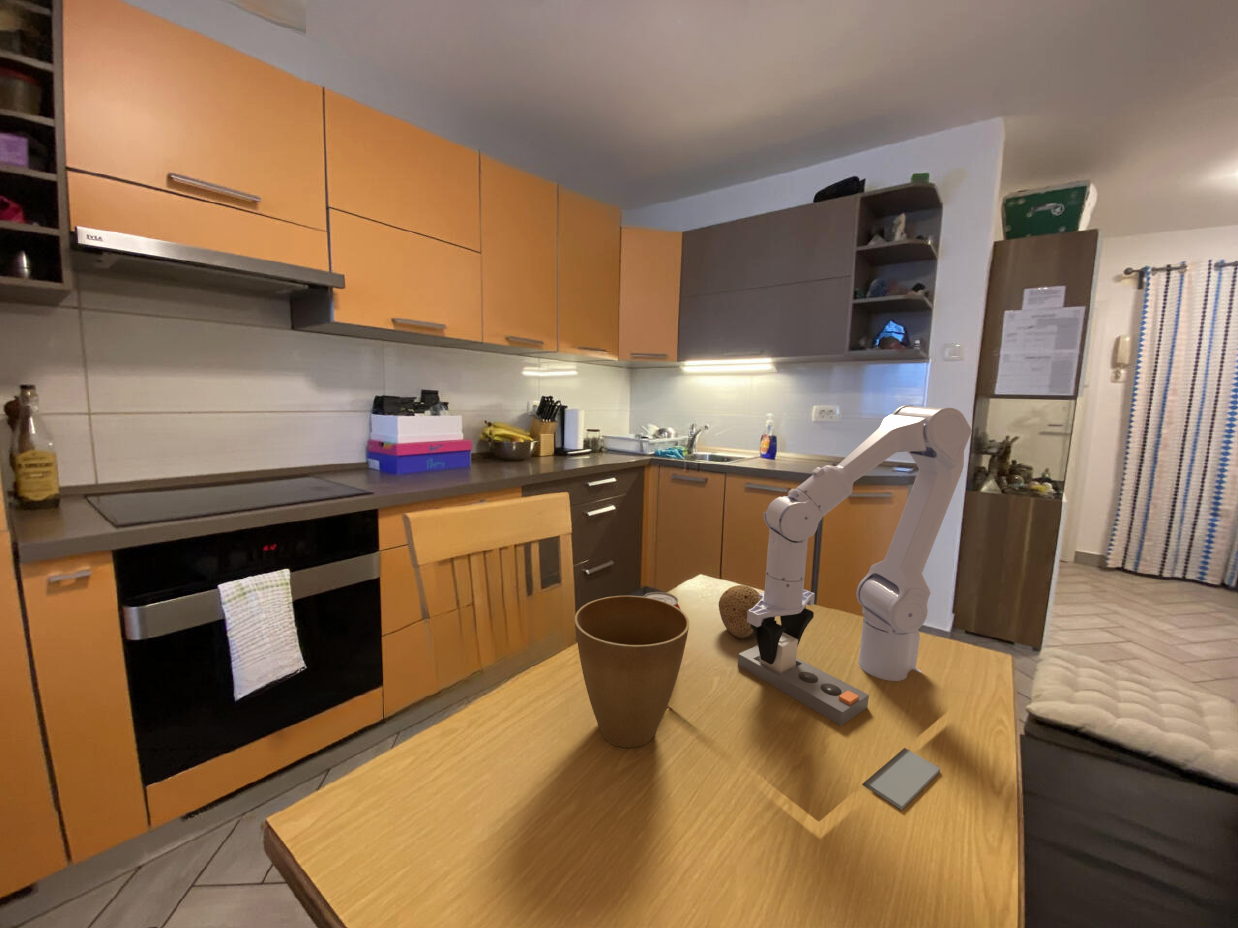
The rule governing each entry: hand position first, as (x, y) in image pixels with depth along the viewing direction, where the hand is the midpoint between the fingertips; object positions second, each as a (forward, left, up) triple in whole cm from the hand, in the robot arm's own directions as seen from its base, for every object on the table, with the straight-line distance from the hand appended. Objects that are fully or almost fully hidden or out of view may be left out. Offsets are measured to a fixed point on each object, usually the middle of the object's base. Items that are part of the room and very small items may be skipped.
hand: (778, 655), depth 81 cm
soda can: (+14, -13, -4) cm, 20 cm away
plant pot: (+27, -4, -4) cm, 28 cm away
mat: (+5, +19, -4) cm, 20 cm away
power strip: (0, +4, -4) cm, 6 cm away
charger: (0, 0, -3) cm, 3 cm away
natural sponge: (-6, -12, -4) cm, 14 cm away
